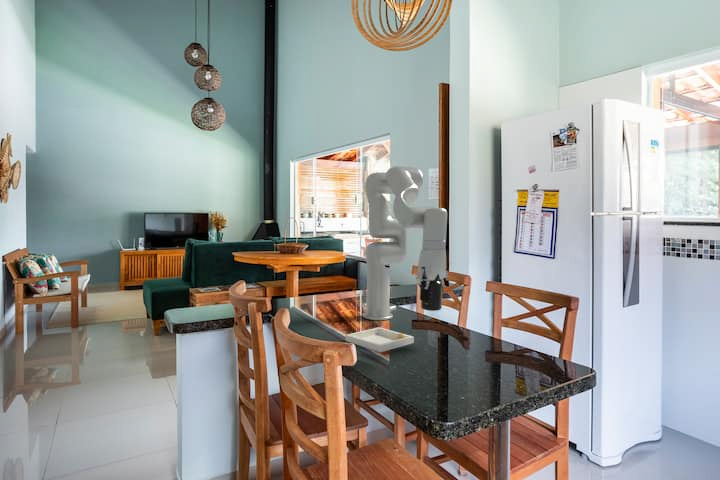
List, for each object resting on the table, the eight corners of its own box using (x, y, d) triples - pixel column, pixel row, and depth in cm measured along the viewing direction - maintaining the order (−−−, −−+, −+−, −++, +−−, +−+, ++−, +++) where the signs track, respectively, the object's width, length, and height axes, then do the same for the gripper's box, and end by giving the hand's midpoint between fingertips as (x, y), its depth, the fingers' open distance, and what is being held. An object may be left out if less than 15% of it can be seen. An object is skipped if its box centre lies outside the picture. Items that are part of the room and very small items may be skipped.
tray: (378, 335, 162) (379, 327, 162) (413, 345, 150) (414, 336, 150) (345, 343, 151) (345, 334, 151) (380, 355, 139) (380, 345, 139)
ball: (400, 340, 152) (400, 331, 152) (407, 342, 150) (407, 333, 150) (394, 342, 150) (394, 333, 150) (401, 344, 148) (401, 335, 148)
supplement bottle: (427, 305, 155) (429, 270, 154) (445, 308, 151) (447, 273, 149) (416, 308, 150) (418, 272, 148) (434, 312, 145) (436, 275, 144)
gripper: (440, 243, 157) (438, 294, 158) (408, 245, 145) (405, 300, 146) (458, 245, 152) (456, 298, 153) (426, 248, 139) (424, 304, 141)
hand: (431, 298), depth 150 cm, fingers closed on supplement bottle, 6 cm apart
